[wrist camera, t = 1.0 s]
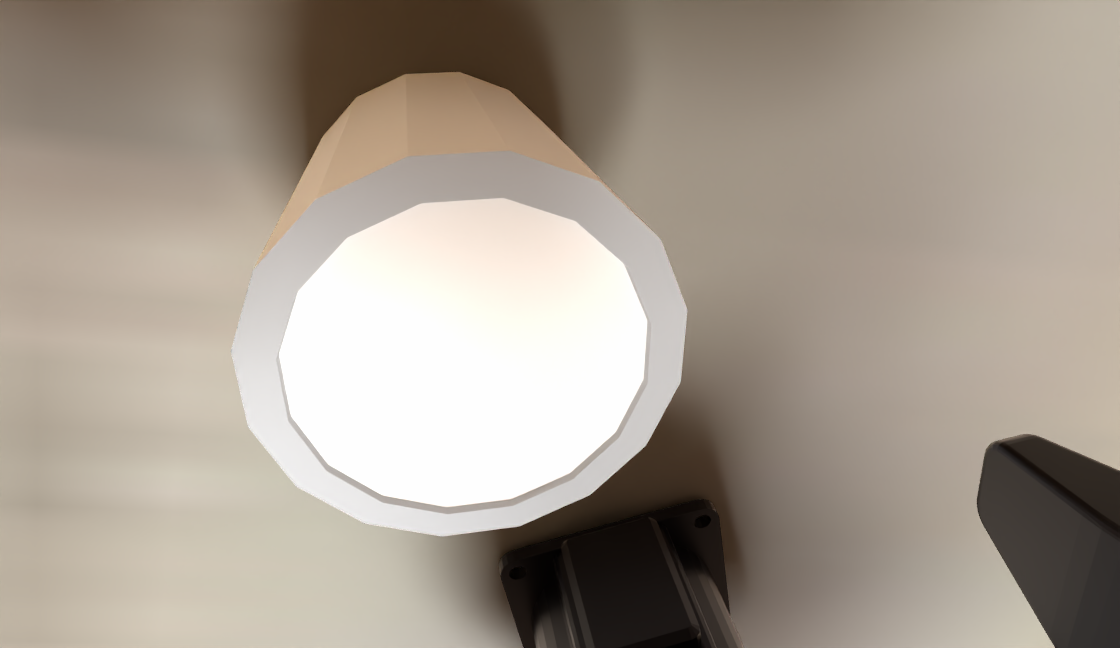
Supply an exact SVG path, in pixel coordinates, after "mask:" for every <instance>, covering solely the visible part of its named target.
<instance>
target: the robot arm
mask: <svg viewBox="0 0 1120 648" xmlns="http://www.w3.org/2000/svg"><path fill="white" fill-rule="evenodd" d="M977 508H978V513H979V516H980V519H981V521H982V523H983V525H984V527H985V529H986V531H987V532H988V534H989V536H990V538H991V539H992V541H993V543H994V544H995V546H996V548H997V550H998V551H999V553H1000V555H1001V556H1002V558H1003V560H1004V561H1005V563H1006V565H1007V567H1008V568H1009V570H1010V572H1011V573H1012V575H1013V577H1014V579H1015V580H1016V582H1017V584H1018V585H1019V587H1020V589H1021V590H1022V592H1023V594H1024V596H1025V597H1026V599H1027V601H1028V602H1029V604H1030V606H1031V608H1032V609H1033V611H1034V613H1035V614H1036V616H1037V618H1038V619H1039V621H1040V623H1041V625H1042V626H1043V628H1044V630H1045V631H1046V633H1047V635H1048V637H1049V638H1050V640H1051V641H1052V643H1053V645H1054V646H1055V648H1120V471H1119V470H1117V469H1114V468H1112V467H1110V466H1107V465H1105V464H1103V463H1100V462H1098V461H1096V460H1093V459H1091V458H1089V457H1086V456H1084V455H1081V454H1079V453H1077V452H1074V451H1072V450H1070V449H1067V448H1065V447H1063V446H1060V445H1058V444H1056V443H1053V442H1051V441H1049V440H1046V439H1044V438H1042V437H1039V436H1036V435H1032V434H1023V435H1018V436H1014V437H1010V438H1006V439H1002V440H998V441H995V442H993V443H991V444H990V445H989V446H988V448H987V449H986V451H985V455H984V461H983V467H982V473H981V478H980V484H979V490H978V496H977ZM701 515H704V516H703V517H701V518H698V519H696V518H697V517H699V516H701ZM515 567H521V568H518V569H513V568H515ZM499 569H500V575H501V580H502V583H503V586H504V589H505V592H506V595H507V598H508V601H509V604H510V607H511V610H512V613H513V617H514V620H515V623H516V626H517V629H518V632H519V635H520V638H521V641H522V644H523V647H524V648H744V646H743V644H742V641H741V639H740V637H739V635H738V632H737V630H736V628H735V626H734V624H733V621H732V619H731V617H730V610H729V601H728V592H727V583H726V575H725V566H724V557H723V548H722V539H721V531H720V522H719V516H718V514H717V511H716V509H715V507H714V505H713V503H711V502H710V501H709V500H705V499H700V500H694V501H691V502H687V503H683V504H680V505H676V506H673V507H669V508H665V509H662V510H658V511H654V512H651V513H647V514H644V515H640V516H636V517H633V518H629V519H626V520H622V521H618V522H615V523H611V524H607V525H604V526H600V527H597V528H593V529H589V530H586V531H582V532H579V533H575V534H571V535H568V536H564V537H560V538H557V539H553V540H550V541H546V542H542V543H539V544H535V545H532V546H528V547H524V548H521V549H517V550H513V551H511V552H508V553H506V554H505V555H504V556H503V557H502V558H501V560H500V562H499Z"/></svg>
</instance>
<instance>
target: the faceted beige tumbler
mask: <svg viewBox="0 0 1120 648" xmlns="http://www.w3.org/2000/svg"><path fill="white" fill-rule="evenodd" d="M687 311H688V310H687V307H686V304H685V302H684V299H683V296H682V294H681V291H680V288H679V286H678V283H677V281H676V278H675V275H674V273H673V270H672V267H671V265H670V262H669V259H668V257H667V254H666V251H665V249H664V246H663V243H662V241H661V239H660V238H659V237H658V236H657V235H656V234H655V233H654V232H653V231H652V230H651V229H650V228H649V227H648V226H647V225H646V224H645V223H644V222H643V221H642V220H641V219H640V218H639V217H638V216H637V215H636V214H635V213H634V212H633V211H632V210H631V209H630V208H629V207H628V206H627V205H626V204H625V203H624V202H623V201H622V200H621V199H620V198H619V197H618V196H617V195H616V194H615V193H614V192H613V191H612V190H611V189H610V188H609V187H608V186H607V185H606V184H605V183H604V182H603V181H602V180H601V179H600V178H599V177H598V176H597V175H596V174H595V173H594V172H593V171H592V170H591V169H590V168H589V167H588V166H587V165H586V164H585V163H584V162H583V161H582V160H581V159H580V158H579V157H578V156H577V155H576V154H575V153H574V152H573V151H572V150H571V149H570V148H569V147H568V146H567V145H566V144H565V143H564V142H563V141H562V140H561V139H560V138H559V137H558V136H557V135H556V134H555V133H554V132H553V131H552V130H551V129H549V128H548V127H547V126H546V125H545V124H544V123H543V122H542V121H541V120H540V119H539V118H538V117H537V116H536V115H535V114H534V113H533V112H532V111H531V110H530V109H528V108H527V107H526V106H525V105H524V104H523V103H522V102H521V101H520V100H519V99H518V98H517V97H516V96H515V95H514V94H513V93H512V92H510V91H509V90H507V89H505V88H502V87H499V86H496V85H494V84H491V83H488V82H486V81H483V80H480V79H478V78H475V77H472V76H469V75H467V74H464V73H461V72H443V73H418V74H404V75H402V76H400V77H398V78H396V79H394V80H392V81H390V82H387V83H385V84H383V85H381V86H379V87H377V88H375V89H373V90H370V91H368V92H366V93H364V94H362V95H360V96H358V97H356V98H355V100H354V101H353V102H352V103H351V104H350V105H349V107H348V108H347V109H346V110H345V111H344V112H343V113H342V115H341V116H340V117H339V118H338V119H337V120H336V122H335V123H334V124H333V125H332V126H331V127H330V128H329V130H328V131H327V132H326V133H325V134H324V135H323V137H322V139H321V141H320V143H319V144H318V146H317V148H316V150H315V152H314V154H313V156H312V158H311V160H310V162H309V164H308V166H307V167H306V169H305V171H304V173H303V175H302V177H301V179H300V181H299V183H298V185H297V187H296V189H295V190H294V192H293V194H292V196H291V198H290V200H289V202H288V204H287V206H286V208H285V210H284V212H283V213H282V215H281V217H280V219H279V221H278V223H277V225H276V227H275V229H274V231H273V233H272V235H271V236H270V238H269V240H268V242H267V244H266V246H265V248H264V250H263V252H262V254H261V256H260V258H259V259H258V261H257V263H256V265H255V267H254V269H253V272H252V276H251V279H250V283H249V287H248V290H247V294H246V298H245V301H244V305H243V309H242V312H241V316H240V320H239V323H238V327H237V331H236V334H235V338H234V342H233V345H232V349H231V354H232V358H233V363H234V367H235V372H236V376H237V380H238V385H239V389H240V393H241V398H242V402H243V407H244V411H245V415H246V420H247V424H248V428H249V429H250V430H251V431H252V433H253V434H254V435H255V436H256V437H257V439H258V440H259V441H260V442H261V444H262V445H263V446H264V447H265V449H266V450H267V451H268V452H269V453H270V455H271V456H272V457H273V458H274V460H275V461H276V462H277V463H278V465H279V466H280V467H281V468H282V469H283V471H284V472H285V473H286V474H287V476H288V477H289V478H290V479H291V481H292V482H293V483H294V484H295V485H296V487H298V488H300V489H302V490H304V491H306V492H307V493H309V494H311V495H313V496H315V497H317V498H318V499H320V500H322V501H324V502H326V503H328V504H329V505H331V506H333V507H335V508H337V509H339V510H340V511H342V512H344V513H346V514H348V515H350V516H352V517H353V518H355V519H357V520H359V521H361V522H363V523H365V524H370V525H376V526H382V527H388V528H394V529H400V530H406V531H412V532H418V533H424V534H430V535H436V536H449V535H457V534H465V533H473V532H480V531H488V530H496V529H503V528H511V527H519V526H522V525H524V524H526V523H528V522H531V521H533V520H535V519H537V518H540V517H542V516H544V515H546V514H549V513H551V512H553V511H555V510H558V509H560V508H562V507H564V506H567V505H569V504H571V503H573V502H576V501H578V500H580V499H582V498H585V497H587V496H589V495H591V494H592V493H593V492H594V491H595V490H596V489H597V488H599V487H600V486H601V485H602V484H603V483H604V482H605V481H606V480H608V479H609V478H610V477H611V476H612V475H613V474H614V473H616V472H617V471H618V470H619V469H620V468H621V467H622V466H623V465H625V464H626V463H627V462H628V461H629V460H630V459H631V458H633V457H634V456H635V455H636V454H637V453H638V452H639V451H640V450H642V449H643V448H644V447H645V446H646V445H647V443H648V441H649V439H650V437H651V436H652V434H653V432H654V430H655V428H656V426H657V425H658V423H659V421H660V419H661V417H662V415H663V414H664V412H665V410H666V408H667V406H668V404H669V403H670V401H671V399H672V397H673V395H674V393H675V392H676V390H677V388H678V386H679V384H680V382H681V375H682V364H683V353H684V343H685V332H686V322H687Z"/></svg>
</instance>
